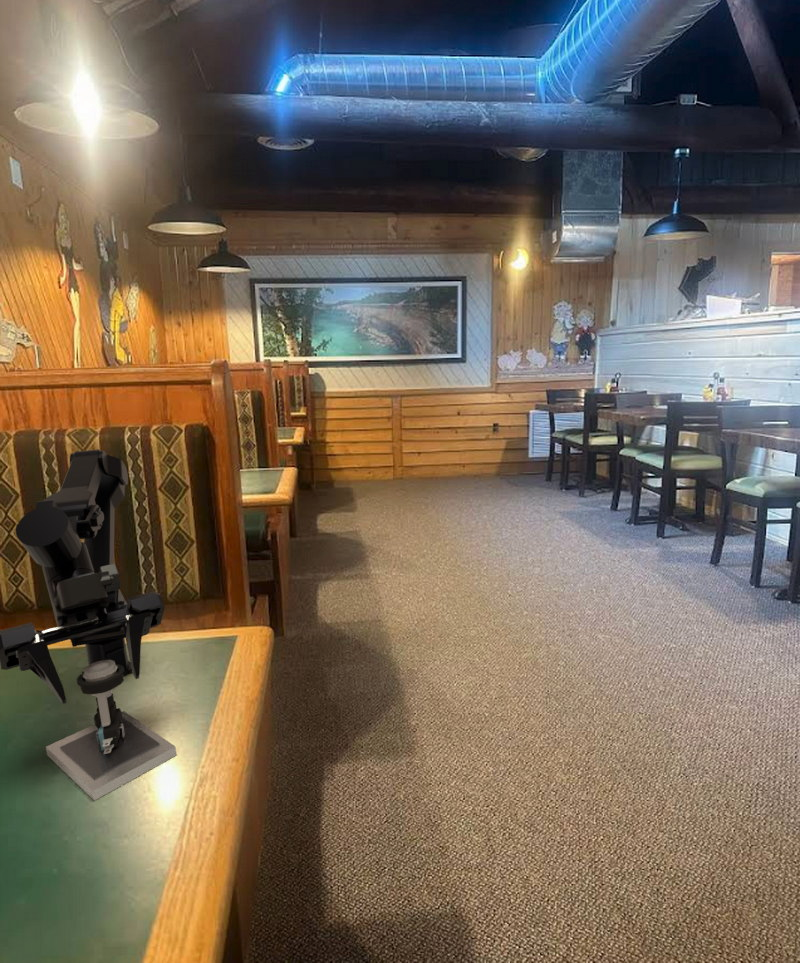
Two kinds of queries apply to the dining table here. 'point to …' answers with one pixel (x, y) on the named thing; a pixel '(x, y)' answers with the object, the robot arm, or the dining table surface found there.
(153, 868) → the dining table surface
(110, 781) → the mounting plate
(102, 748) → the push button
